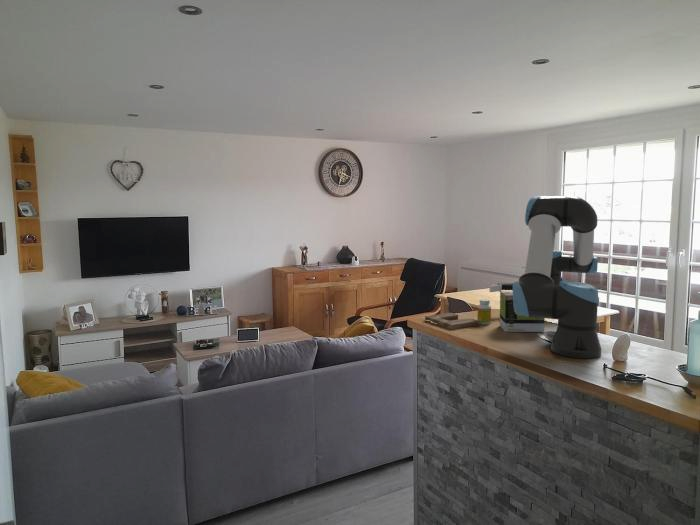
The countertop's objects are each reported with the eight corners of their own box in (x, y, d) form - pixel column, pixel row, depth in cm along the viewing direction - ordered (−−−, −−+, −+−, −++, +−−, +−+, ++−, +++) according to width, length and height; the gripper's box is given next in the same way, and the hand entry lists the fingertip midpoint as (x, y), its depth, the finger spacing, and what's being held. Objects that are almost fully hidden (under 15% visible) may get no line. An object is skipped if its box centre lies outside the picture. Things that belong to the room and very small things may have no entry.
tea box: (537, 326, 197) (538, 290, 195) (544, 333, 187) (546, 295, 185) (498, 326, 198) (500, 290, 196) (504, 332, 188) (505, 294, 186)
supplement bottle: (481, 324, 200) (481, 301, 199) (474, 321, 205) (475, 299, 204) (493, 324, 201) (493, 300, 200) (486, 321, 206) (487, 298, 205)
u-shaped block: (478, 325, 199) (478, 320, 199) (452, 329, 192) (452, 324, 192) (450, 317, 214) (450, 312, 213) (425, 320, 207) (425, 316, 207)
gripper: (560, 299, 207) (525, 305, 196) (514, 290, 228) (480, 295, 218) (561, 282, 206) (526, 287, 195) (514, 274, 227) (481, 278, 217)
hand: (502, 291), depth 207 cm, fingers open, 13 cm apart
